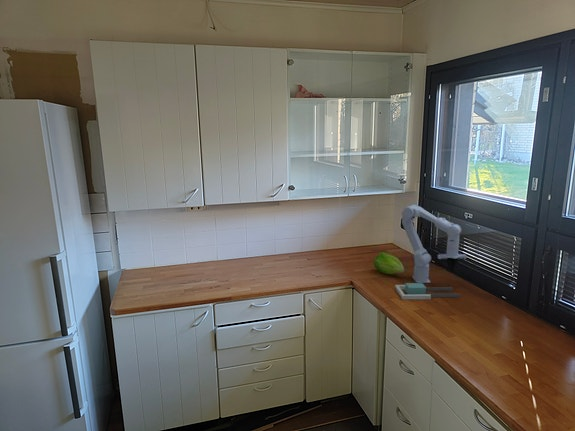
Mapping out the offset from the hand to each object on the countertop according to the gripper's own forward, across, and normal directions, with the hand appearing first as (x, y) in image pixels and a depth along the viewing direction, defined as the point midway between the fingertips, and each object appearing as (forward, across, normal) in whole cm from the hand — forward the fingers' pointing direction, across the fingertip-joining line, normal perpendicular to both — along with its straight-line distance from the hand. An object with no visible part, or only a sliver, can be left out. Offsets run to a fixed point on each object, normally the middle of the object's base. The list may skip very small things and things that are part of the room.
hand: (450, 271), depth 207 cm
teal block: (+10, -21, -8) cm, 25 cm away
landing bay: (+9, -22, -8) cm, 25 cm away
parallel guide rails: (+9, -8, -8) cm, 14 cm away
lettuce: (+10, -28, +20) cm, 36 cm away
